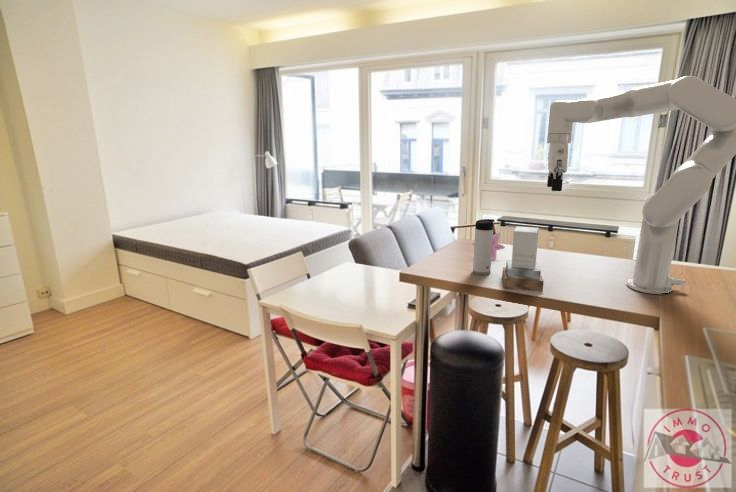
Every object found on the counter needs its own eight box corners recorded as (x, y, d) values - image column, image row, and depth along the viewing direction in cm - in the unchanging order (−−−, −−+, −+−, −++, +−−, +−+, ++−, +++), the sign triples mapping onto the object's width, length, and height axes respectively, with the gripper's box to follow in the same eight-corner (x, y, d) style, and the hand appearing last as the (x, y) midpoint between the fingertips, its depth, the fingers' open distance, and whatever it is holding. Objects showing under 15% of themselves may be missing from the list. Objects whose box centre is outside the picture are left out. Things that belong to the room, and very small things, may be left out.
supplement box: (536, 263, 146) (539, 227, 143) (534, 270, 140) (537, 232, 137) (513, 260, 150) (516, 225, 146) (510, 267, 143) (513, 230, 140)
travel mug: (491, 275, 154) (495, 221, 149) (473, 274, 156) (475, 221, 150) (490, 270, 160) (494, 217, 155) (472, 269, 162) (475, 217, 156)
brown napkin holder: (537, 278, 151) (539, 261, 149) (542, 291, 139) (544, 272, 138) (502, 276, 153) (503, 259, 152) (504, 288, 142) (505, 270, 141)
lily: (468, 256, 182) (468, 239, 175) (488, 241, 185) (488, 225, 179) (490, 271, 174) (490, 254, 167) (510, 256, 177) (511, 239, 171)
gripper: (576, 139, 137) (570, 192, 142) (566, 137, 153) (561, 185, 158) (551, 139, 139) (546, 192, 144) (543, 138, 155) (539, 185, 160)
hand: (554, 188), depth 151 cm, fingers open, 9 cm apart
